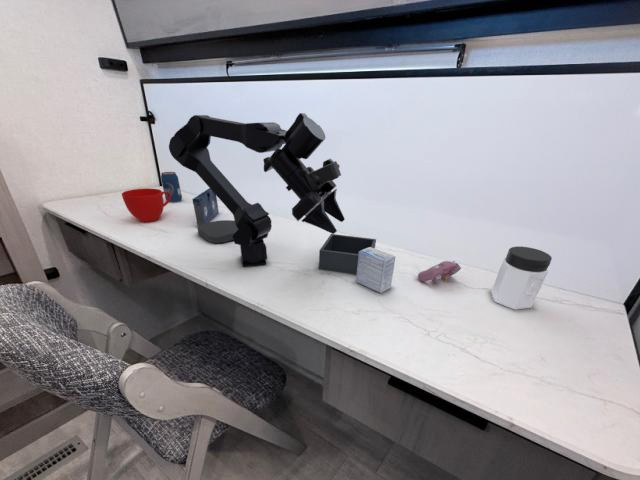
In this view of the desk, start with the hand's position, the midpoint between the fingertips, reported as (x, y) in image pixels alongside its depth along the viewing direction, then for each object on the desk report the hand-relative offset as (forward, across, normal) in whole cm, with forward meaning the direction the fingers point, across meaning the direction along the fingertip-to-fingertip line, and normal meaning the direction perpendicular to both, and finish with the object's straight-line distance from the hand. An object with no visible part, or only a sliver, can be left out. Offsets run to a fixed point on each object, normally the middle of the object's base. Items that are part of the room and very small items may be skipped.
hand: (339, 226), depth 72 cm
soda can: (-52, +50, +71) cm, 101 cm away
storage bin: (+10, +10, +9) cm, 17 cm away
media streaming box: (-21, +19, +40) cm, 49 cm away
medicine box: (+17, -1, +3) cm, 17 cm away
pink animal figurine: (+28, +7, -8) cm, 30 cm away
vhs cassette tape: (-31, +32, +50) cm, 67 cm away
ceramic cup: (-45, +26, +64) cm, 83 cm away
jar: (+40, +2, -20) cm, 44 cm away
